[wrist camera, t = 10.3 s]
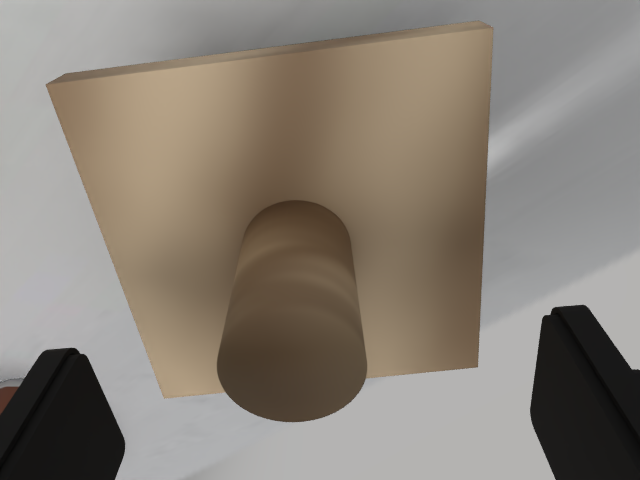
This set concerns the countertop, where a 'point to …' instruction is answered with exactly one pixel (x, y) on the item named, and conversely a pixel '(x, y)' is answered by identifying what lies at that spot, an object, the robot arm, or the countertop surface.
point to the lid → (294, 210)
